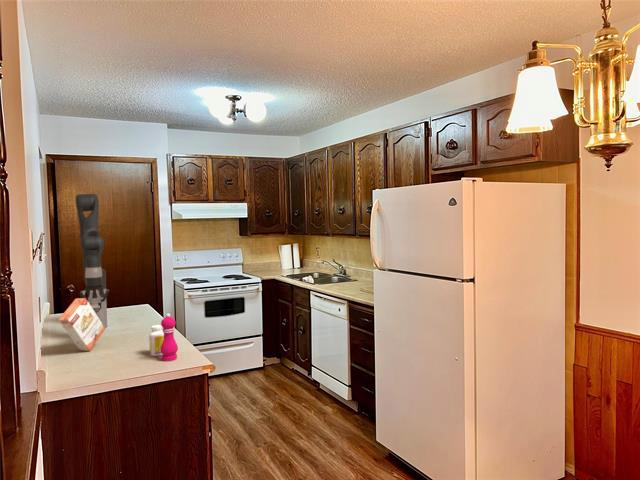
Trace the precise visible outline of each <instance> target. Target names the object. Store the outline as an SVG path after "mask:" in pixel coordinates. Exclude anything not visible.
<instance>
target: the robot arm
mask: <svg viewBox="0 0 640 480" xmlns="http://www.w3.org/2000/svg"><path fill="white" fill-rule="evenodd" d="M75 207H76V213H77V218H78V224H79V225H78V226H79V236H80V237H79V238H80V249H81V252H82V261H83V262H82V263H83V266H82V267H83V280H84V284H85V289H84V290H81V291H80V292H79V295H80V298H86V299H87V301H88V302H89V304H90V305H91V303H98V306H99V305H100V309H99V312H98V313H96V315H97V316H98V318H99V319H100V321H101V322H102V324H103V326H104V327H105V328H107V327H108V309H107V307H108V306H107V305H108V304H107V297H108V294H109V292H110V290H109V289H107V271H106V269H105V268H102V253H103V251H104V247H105V240H104V238H103V237H102V236H100V229H99V216H100V215H99V214H100V212H99V211H100V201H99V197H98V195H97V194H96V193H81V194H76V196H75ZM85 212H90V213H89V214H88V215H87V216H86V215H85ZM86 294H87V297H86Z"/></svg>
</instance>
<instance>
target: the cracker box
mask: <svg viewBox="0 0 640 480" xmlns="http://www.w3.org/2000/svg"><path fill="white" fill-rule="evenodd" d="M87 300H88V298H87V297H86V298H82V297H80V298H79V297H78V298H75V299H74V300H73V301H72V303H70V305H69V306H68V308H66V310H65V311H64V312H63V313H62V315H61V316H60V317H59V318H58V322H59V323H60V324H61V326H62V328H63V329H64V330H65V332H67V333H66V334H68V336H69V337H70V338H71V340H72V341H73V342H74V344H75V345H76V347H77V348H78V349H79V351H84V352H89V351H90V352H91V350H92V349H93V347H94V346H95V344H96V343H97V341H99V339H100V337H102V336H101V335H102V334H103V333H104V331H105V330H106V327H104V326H103V324H102V322H101V321H100V319H99V318H98V316H97V315H96V313H95V312H94V310H93V309H92V307H91V305H90V304H89V302H88V301H87Z"/></svg>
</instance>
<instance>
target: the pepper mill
mask: <svg viewBox="0 0 640 480" xmlns="http://www.w3.org/2000/svg"><path fill="white" fill-rule="evenodd" d="M160 325H161V326H162V332H163V333H164V340H163V343H162V345H161V350H160V351H161V353H162V354H163V355H161V360H162V361H163V362H172V361H176V360H177V359H178V354H177V352H178V351H179V348H178V347H179V346H178V343H177V342H176V340H175V336H174V333H175V326H176V320H175V318H174V317H172V316H171V314H170V313H166V314H165V317H164V318H162V320H161V321H160Z"/></svg>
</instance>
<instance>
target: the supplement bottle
mask: <svg viewBox="0 0 640 480" xmlns="http://www.w3.org/2000/svg"><path fill="white" fill-rule="evenodd" d="M150 329H151V331H150V332H149V336H148V337H149V355H150V356H152V357H159V356H162V355H163V354H162V353H161V351H160V350H161V345H162V343H163V340H164V333H163V332H162V331H163V330H162V329H163V327H162V326H161V324H156V325H151V328H150Z"/></svg>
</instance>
